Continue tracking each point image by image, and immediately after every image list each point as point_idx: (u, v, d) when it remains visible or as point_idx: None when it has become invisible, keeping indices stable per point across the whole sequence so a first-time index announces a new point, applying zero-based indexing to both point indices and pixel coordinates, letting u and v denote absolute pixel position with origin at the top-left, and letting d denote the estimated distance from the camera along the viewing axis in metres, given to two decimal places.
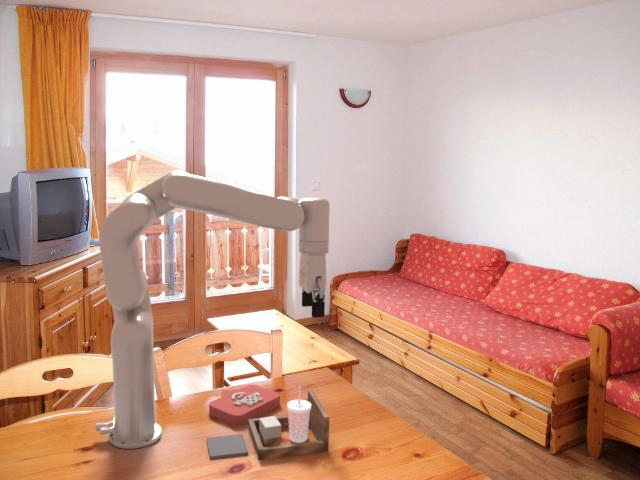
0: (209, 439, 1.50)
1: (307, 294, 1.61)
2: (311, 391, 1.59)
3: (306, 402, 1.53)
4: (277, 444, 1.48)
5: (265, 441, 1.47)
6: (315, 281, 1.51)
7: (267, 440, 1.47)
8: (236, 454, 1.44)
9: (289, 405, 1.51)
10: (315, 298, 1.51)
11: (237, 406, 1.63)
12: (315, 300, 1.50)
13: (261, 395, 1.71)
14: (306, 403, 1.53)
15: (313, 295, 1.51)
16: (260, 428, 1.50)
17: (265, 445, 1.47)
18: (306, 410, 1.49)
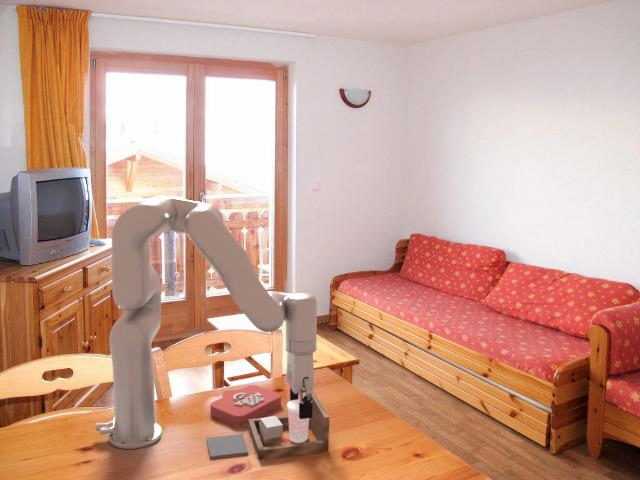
0: (209, 439, 1.50)
1: None
2: None
3: None
4: (277, 444, 1.48)
5: (265, 441, 1.47)
6: (302, 382, 1.45)
7: (267, 440, 1.47)
8: (236, 454, 1.44)
9: (289, 405, 1.51)
10: (302, 400, 1.45)
11: (238, 407, 1.63)
12: (302, 402, 1.45)
13: (262, 395, 1.70)
14: None
15: (300, 396, 1.45)
16: (261, 428, 1.50)
17: (265, 445, 1.47)
18: None
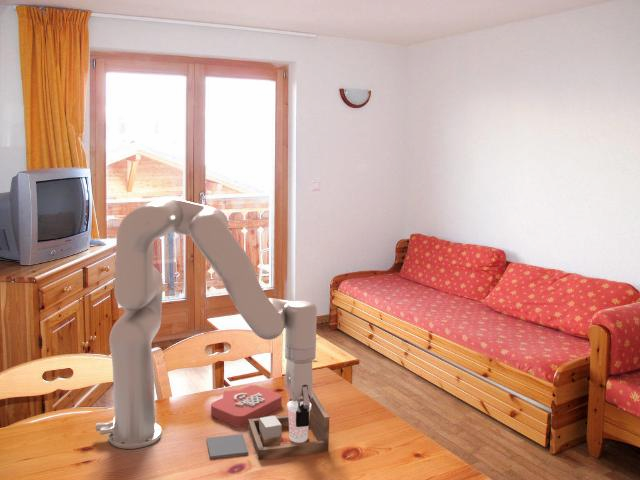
0: (209, 439, 1.50)
1: None
2: None
3: None
4: (277, 444, 1.48)
5: (265, 441, 1.47)
6: (301, 390, 1.45)
7: (267, 440, 1.47)
8: (236, 454, 1.44)
9: (289, 405, 1.51)
10: (299, 408, 1.47)
11: (239, 407, 1.63)
12: (299, 411, 1.47)
13: (263, 396, 1.70)
14: None
15: (298, 405, 1.47)
16: (260, 428, 1.50)
17: (265, 445, 1.47)
18: None
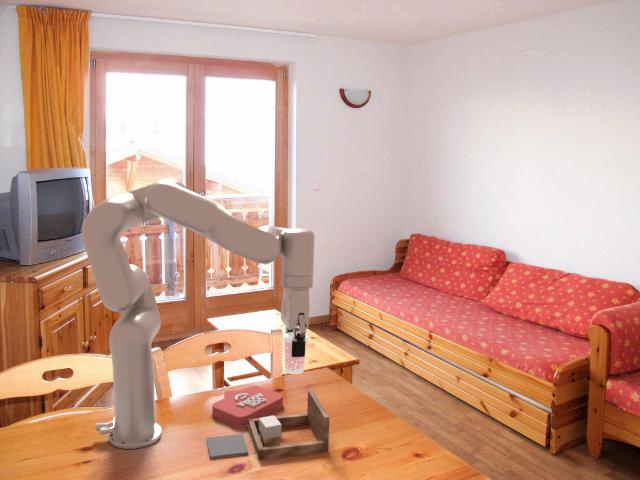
0: (209, 439, 1.50)
1: None
2: (311, 391, 1.59)
3: None
4: (277, 444, 1.48)
5: (265, 441, 1.47)
6: (297, 318, 1.42)
7: (267, 440, 1.47)
8: (236, 454, 1.44)
9: (285, 336, 1.48)
10: (295, 337, 1.43)
11: (240, 407, 1.63)
12: (295, 340, 1.43)
13: (264, 396, 1.70)
14: None
15: (294, 334, 1.43)
16: (260, 428, 1.50)
17: (265, 445, 1.47)
18: None
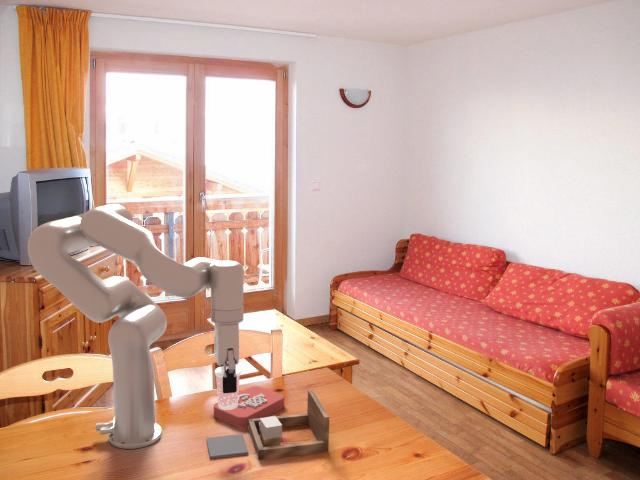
0: (209, 439, 1.50)
1: None
2: (311, 391, 1.59)
3: (236, 368, 1.46)
4: (277, 444, 1.47)
5: (265, 441, 1.46)
6: (226, 353, 1.38)
7: (267, 440, 1.47)
8: (236, 454, 1.44)
9: (217, 371, 1.44)
10: (225, 373, 1.40)
11: (242, 408, 1.62)
12: (225, 376, 1.40)
13: (265, 397, 1.70)
14: (236, 369, 1.45)
15: None
16: (261, 428, 1.50)
17: (265, 445, 1.47)
18: None
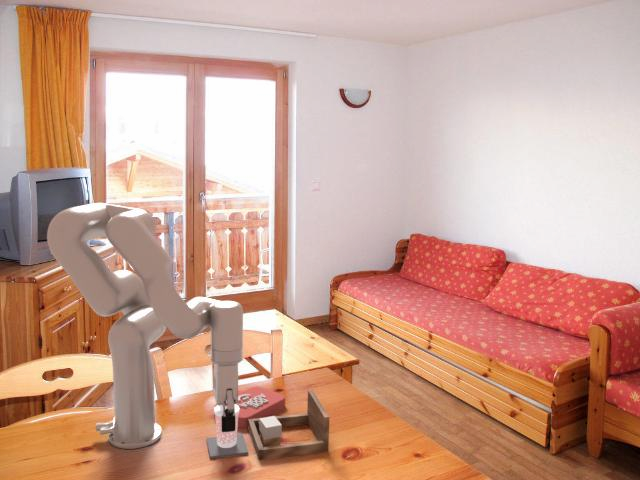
0: (209, 439, 1.50)
1: None
2: (311, 391, 1.59)
3: (235, 406, 1.48)
4: (277, 444, 1.47)
5: (265, 441, 1.46)
6: (225, 394, 1.40)
7: (267, 440, 1.47)
8: (236, 454, 1.44)
9: (216, 409, 1.46)
10: (224, 413, 1.41)
11: (243, 408, 1.62)
12: (224, 416, 1.41)
13: (266, 397, 1.70)
14: None
15: (223, 410, 1.41)
16: (260, 428, 1.50)
17: (265, 445, 1.47)
18: None
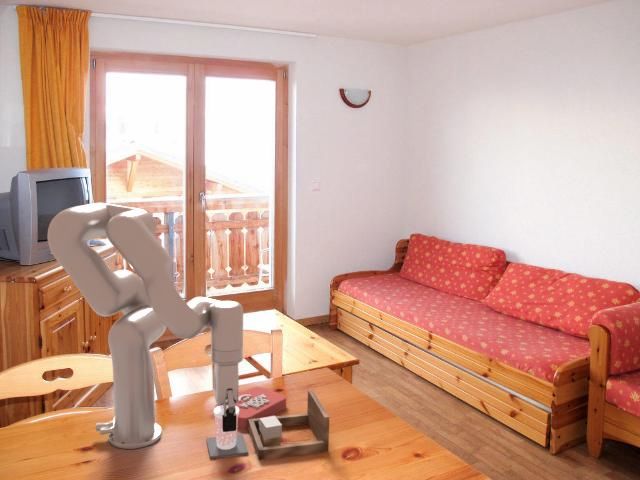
0: (209, 439, 1.50)
1: None
2: (311, 391, 1.59)
3: None
4: (277, 444, 1.47)
5: (265, 441, 1.46)
6: (225, 393, 1.40)
7: (267, 440, 1.47)
8: (236, 454, 1.44)
9: (216, 410, 1.46)
10: (225, 412, 1.40)
11: (243, 408, 1.62)
12: (225, 415, 1.40)
13: (267, 397, 1.69)
14: None
15: (223, 409, 1.41)
16: (260, 428, 1.50)
17: (265, 445, 1.47)
18: None
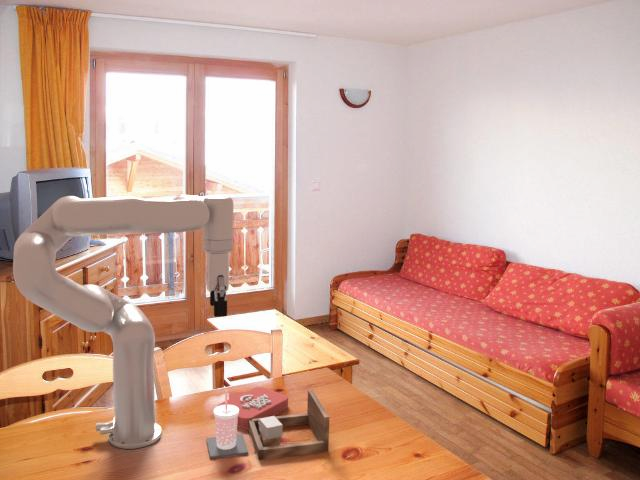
0: (209, 439, 1.50)
1: (215, 293, 1.59)
2: (311, 391, 1.59)
3: (234, 407, 1.48)
4: (276, 444, 1.47)
5: (264, 441, 1.46)
6: (217, 280, 1.49)
7: (266, 440, 1.47)
8: (236, 454, 1.44)
9: (216, 410, 1.46)
10: (216, 297, 1.49)
11: (246, 409, 1.62)
12: (216, 299, 1.49)
13: (269, 397, 1.69)
14: (234, 408, 1.47)
15: (215, 294, 1.49)
16: (260, 429, 1.50)
17: (264, 445, 1.47)
18: (232, 416, 1.44)
